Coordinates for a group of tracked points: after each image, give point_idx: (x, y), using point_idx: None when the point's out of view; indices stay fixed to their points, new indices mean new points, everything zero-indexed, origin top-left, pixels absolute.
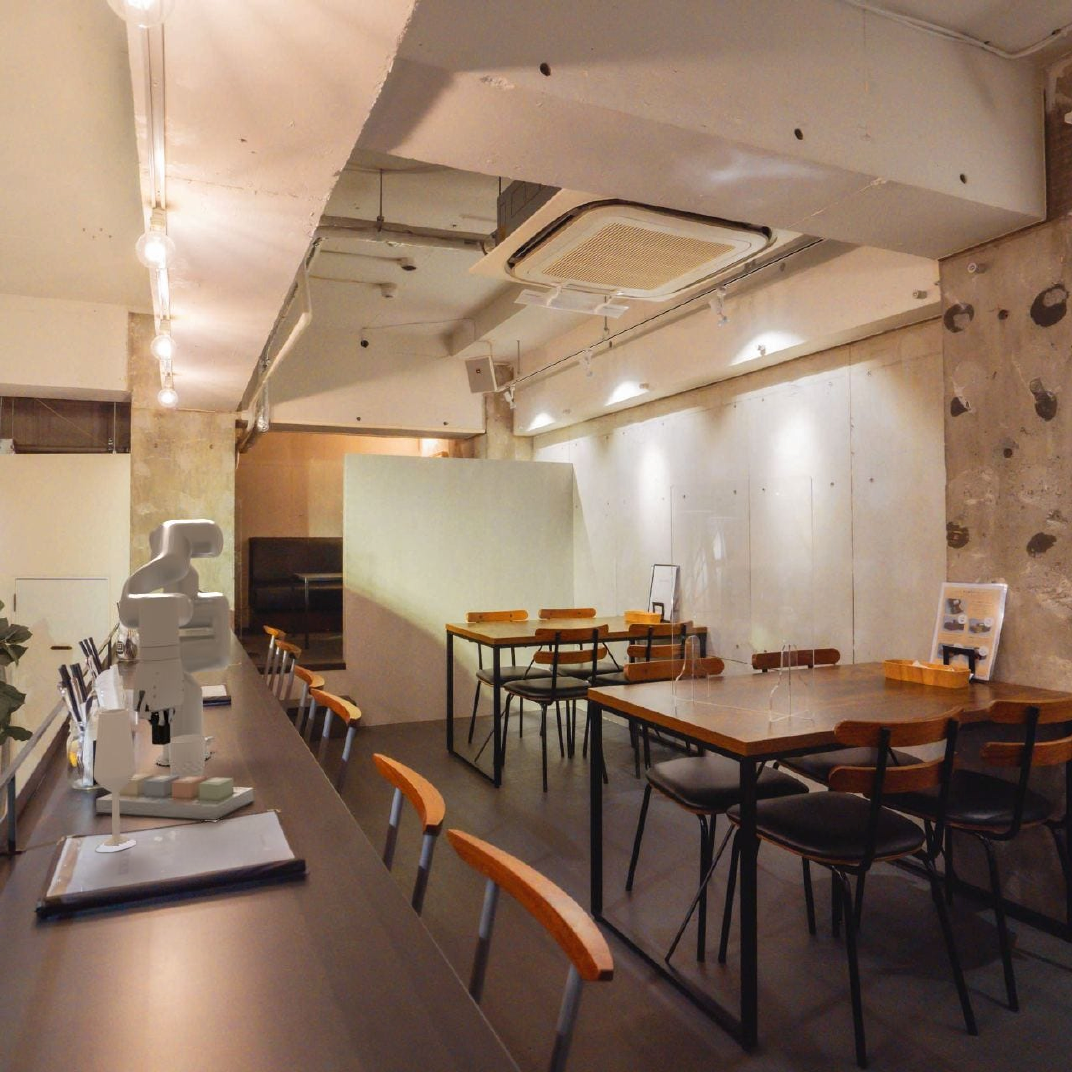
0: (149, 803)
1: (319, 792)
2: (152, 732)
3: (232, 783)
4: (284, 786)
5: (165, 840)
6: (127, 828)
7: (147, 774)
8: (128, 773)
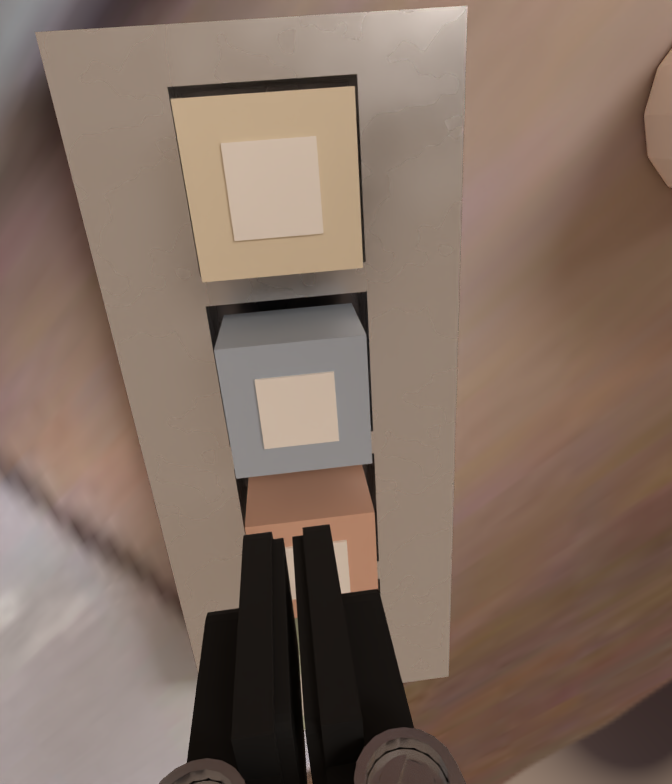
0: (140, 438)
1: (563, 725)
2: (241, 640)
3: None
4: (630, 601)
5: (3, 642)
6: (11, 421)
7: (349, 229)
8: None
